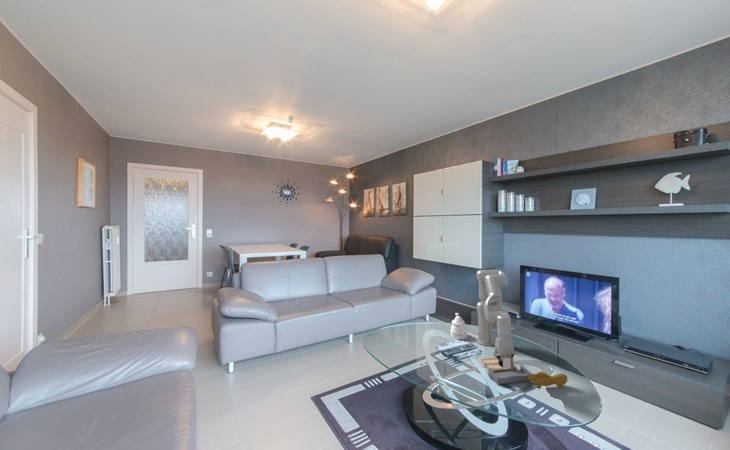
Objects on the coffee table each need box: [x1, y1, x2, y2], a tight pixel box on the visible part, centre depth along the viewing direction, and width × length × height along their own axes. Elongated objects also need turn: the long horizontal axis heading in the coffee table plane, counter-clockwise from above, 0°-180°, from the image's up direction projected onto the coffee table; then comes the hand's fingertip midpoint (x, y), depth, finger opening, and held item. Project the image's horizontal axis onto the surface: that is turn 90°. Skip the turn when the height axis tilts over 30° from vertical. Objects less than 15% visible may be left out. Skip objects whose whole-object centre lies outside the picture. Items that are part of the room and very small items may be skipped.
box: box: [487, 364, 533, 386], centre depth 176 cm, size 11×22×4 cm, turn 96°
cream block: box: [502, 356, 511, 369], centre depth 175 cm, size 4×4×6 cm
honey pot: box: [450, 312, 468, 340], centre depth 235 cm, size 13×13×18 cm
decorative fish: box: [528, 371, 569, 390], centre depth 166 cm, size 22×3×10 cm, turn 93°
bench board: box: [480, 357, 518, 373], centre depth 189 cm, size 14×16×2 cm
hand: (504, 365), depth 175 cm, fingers closed on cream block, 4 cm apart
